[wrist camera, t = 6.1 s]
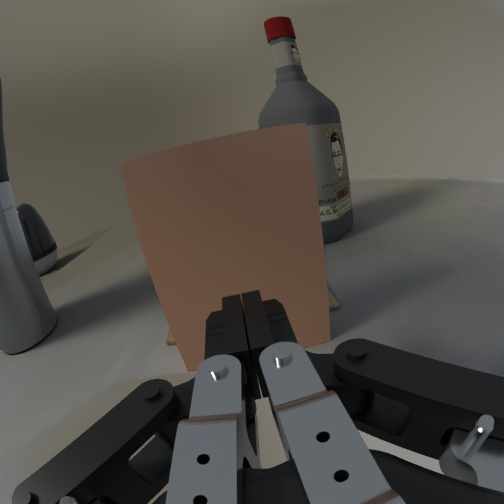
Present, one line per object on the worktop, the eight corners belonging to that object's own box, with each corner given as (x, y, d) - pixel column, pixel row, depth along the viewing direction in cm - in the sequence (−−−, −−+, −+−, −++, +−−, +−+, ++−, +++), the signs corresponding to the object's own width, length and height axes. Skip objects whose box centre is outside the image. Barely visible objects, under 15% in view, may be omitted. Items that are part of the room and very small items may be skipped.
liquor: (271, 241, 40) (228, 27, 29) (304, 220, 46) (269, 37, 35) (332, 248, 34) (287, 1, 23) (358, 223, 40) (322, 20, 29)
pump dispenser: (38, 266, 55) (18, 205, 49) (70, 257, 55) (49, 191, 49) (16, 285, 45) (-8, 216, 40) (48, 277, 45) (23, 201, 40)
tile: (188, 371, 19) (118, 163, 14) (190, 353, 20) (129, 161, 16) (330, 340, 19) (306, 122, 14) (322, 325, 21) (296, 124, 16)
